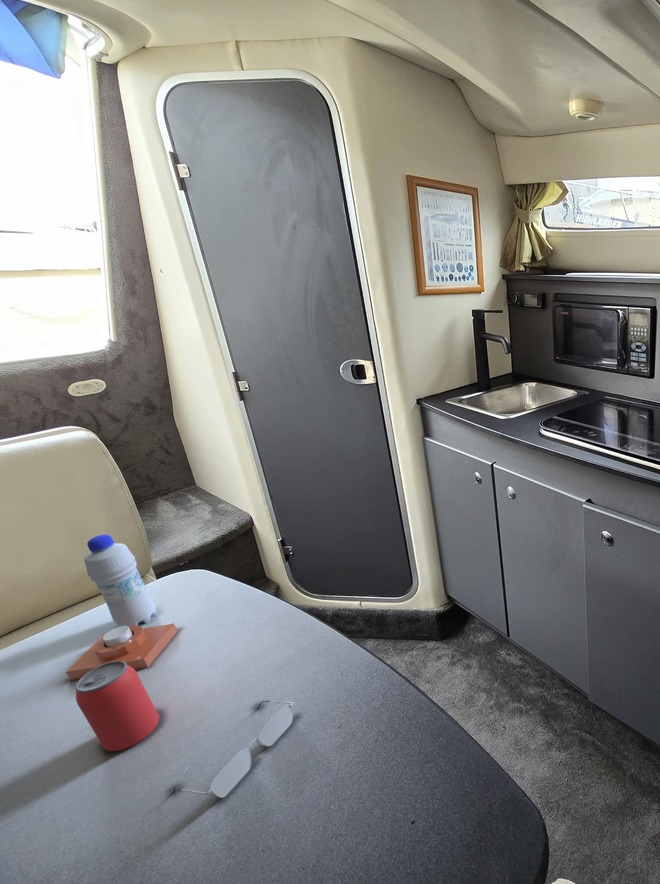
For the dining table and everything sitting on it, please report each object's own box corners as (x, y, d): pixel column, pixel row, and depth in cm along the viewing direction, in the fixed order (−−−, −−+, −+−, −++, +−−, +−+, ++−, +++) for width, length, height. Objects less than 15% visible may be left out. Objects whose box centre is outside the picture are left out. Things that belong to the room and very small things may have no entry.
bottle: (108, 630, 97) (63, 545, 90) (144, 607, 103) (105, 525, 96) (133, 635, 96) (89, 549, 88) (168, 611, 102) (130, 529, 94)
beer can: (104, 733, 76) (70, 675, 72) (159, 706, 80) (130, 650, 76) (104, 763, 72) (68, 703, 67) (162, 733, 76) (131, 674, 71)
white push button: (101, 649, 88) (97, 641, 87) (115, 634, 91) (111, 627, 90) (124, 645, 88) (120, 638, 88) (137, 631, 92) (134, 624, 91)
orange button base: (71, 681, 86) (60, 664, 84) (108, 643, 94) (99, 626, 93) (148, 668, 88) (140, 651, 86) (178, 632, 96) (170, 615, 95)
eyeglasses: (216, 809, 65) (204, 789, 64) (172, 798, 67) (159, 778, 66) (300, 716, 77) (291, 697, 76) (261, 709, 80) (252, 691, 78)
